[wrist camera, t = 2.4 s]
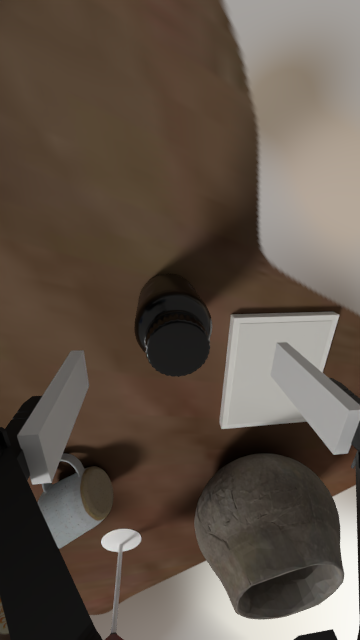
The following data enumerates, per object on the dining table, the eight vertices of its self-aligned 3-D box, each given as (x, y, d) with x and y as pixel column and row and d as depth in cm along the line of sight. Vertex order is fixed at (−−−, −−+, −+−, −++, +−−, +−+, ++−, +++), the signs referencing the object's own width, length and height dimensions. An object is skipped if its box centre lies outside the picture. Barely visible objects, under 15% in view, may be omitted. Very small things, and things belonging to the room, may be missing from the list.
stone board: (230, 314, 30) (234, 318, 29) (332, 311, 31) (339, 314, 30) (219, 422, 37) (221, 429, 36) (303, 415, 38) (308, 421, 37)
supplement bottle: (205, 285, 28) (242, 326, 17) (181, 334, 30) (200, 399, 19) (151, 261, 26) (153, 291, 15) (129, 315, 28) (117, 375, 17)
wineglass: (102, 527, 43) (67, 753, 25) (148, 529, 45) (148, 740, 27) (94, 552, 46) (58, 773, 27) (138, 552, 48) (132, 759, 29)
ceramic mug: (119, 478, 39) (112, 534, 32) (79, 500, 40) (64, 559, 33) (75, 440, 35) (56, 495, 28) (32, 465, 36) (2, 525, 29)
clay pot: (317, 479, 45) (390, 590, 32) (221, 526, 48) (250, 649, 34) (277, 408, 37) (353, 518, 23) (163, 469, 39) (171, 603, 26)
